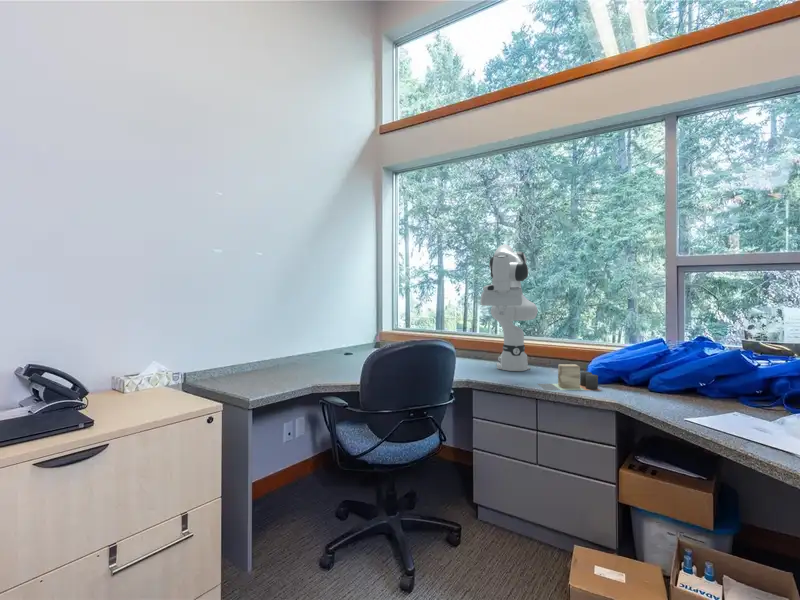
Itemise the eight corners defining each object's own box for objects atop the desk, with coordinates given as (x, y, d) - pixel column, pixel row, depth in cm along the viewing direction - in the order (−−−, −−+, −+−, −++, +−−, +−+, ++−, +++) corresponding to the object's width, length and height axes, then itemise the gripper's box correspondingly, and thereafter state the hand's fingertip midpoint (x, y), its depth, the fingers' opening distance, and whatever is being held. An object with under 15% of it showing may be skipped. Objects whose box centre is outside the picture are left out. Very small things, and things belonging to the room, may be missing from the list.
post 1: (578, 384, 190) (578, 371, 190) (588, 384, 190) (589, 371, 190) (582, 386, 185) (582, 373, 185) (593, 386, 185) (593, 373, 185)
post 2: (583, 387, 184) (583, 374, 184) (594, 387, 184) (594, 374, 184) (588, 389, 179) (588, 376, 179) (599, 389, 179) (600, 376, 179)
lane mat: (536, 384, 191) (536, 383, 191) (589, 385, 190) (589, 383, 190) (545, 391, 179) (545, 390, 179) (601, 391, 178) (601, 390, 178)
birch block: (558, 385, 187) (558, 364, 187) (575, 385, 187) (575, 364, 187) (562, 388, 182) (562, 366, 182) (579, 388, 182) (580, 366, 182)
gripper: (520, 287, 202) (520, 314, 203) (479, 287, 203) (479, 314, 203) (524, 287, 196) (523, 315, 196) (482, 287, 196) (482, 315, 197)
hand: (501, 314), depth 200 cm, fingers closed
